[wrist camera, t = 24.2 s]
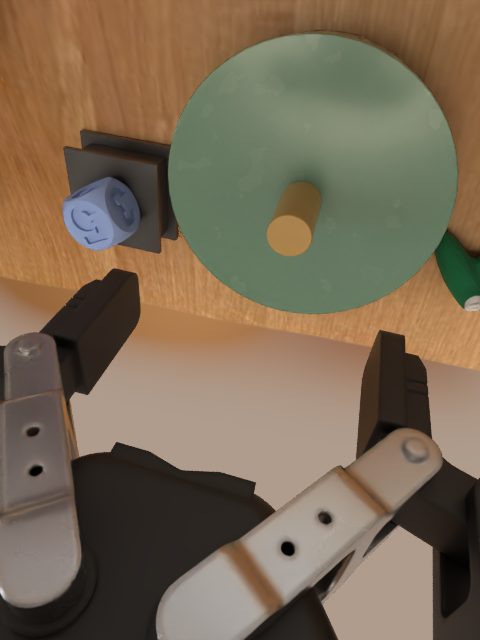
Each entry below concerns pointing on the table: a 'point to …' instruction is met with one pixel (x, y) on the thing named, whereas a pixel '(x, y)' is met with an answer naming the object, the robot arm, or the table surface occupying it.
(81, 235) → the decorative dice
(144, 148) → the stand
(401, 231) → the tin lid
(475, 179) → the table surface
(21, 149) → the table surface
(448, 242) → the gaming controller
